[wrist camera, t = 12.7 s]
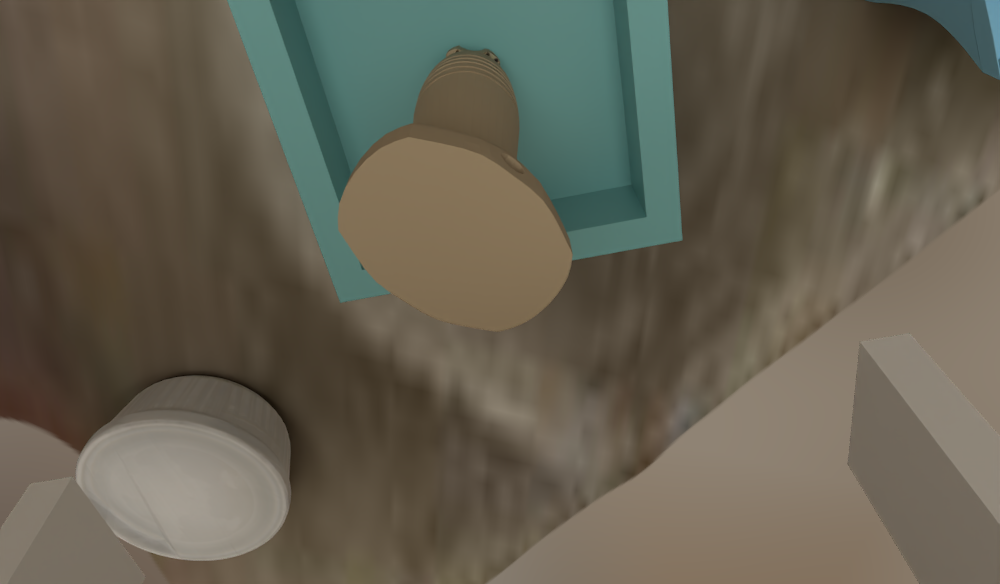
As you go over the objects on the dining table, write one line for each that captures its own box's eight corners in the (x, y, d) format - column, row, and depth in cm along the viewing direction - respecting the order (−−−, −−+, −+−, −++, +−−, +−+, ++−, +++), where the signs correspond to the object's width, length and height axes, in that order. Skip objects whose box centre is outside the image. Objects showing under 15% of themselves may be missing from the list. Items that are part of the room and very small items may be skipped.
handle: (443, -16, 30) (408, 98, 17) (561, 81, 32) (607, 245, 19) (379, 77, 32) (305, 239, 19) (493, 161, 34) (495, 358, 21)
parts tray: (235, -84, 29) (200, -71, 25) (631, -173, 28) (656, -174, 24) (353, 255, 38) (340, 302, 34) (660, 197, 37) (682, 240, 33)
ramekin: (75, 424, 43) (30, 491, 39) (193, 323, 40) (159, 385, 35) (225, 518, 48) (200, 588, 44) (343, 435, 45) (329, 502, 40)
